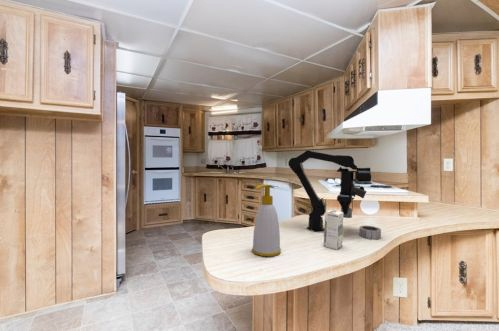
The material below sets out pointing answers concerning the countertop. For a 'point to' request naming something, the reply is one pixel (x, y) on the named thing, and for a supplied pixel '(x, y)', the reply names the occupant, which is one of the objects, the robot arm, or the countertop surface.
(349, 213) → the cap
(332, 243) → the syrup box
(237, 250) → the countertop surface
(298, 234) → the countertop surface
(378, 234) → the grey ribbed ring
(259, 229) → the soap bottle
